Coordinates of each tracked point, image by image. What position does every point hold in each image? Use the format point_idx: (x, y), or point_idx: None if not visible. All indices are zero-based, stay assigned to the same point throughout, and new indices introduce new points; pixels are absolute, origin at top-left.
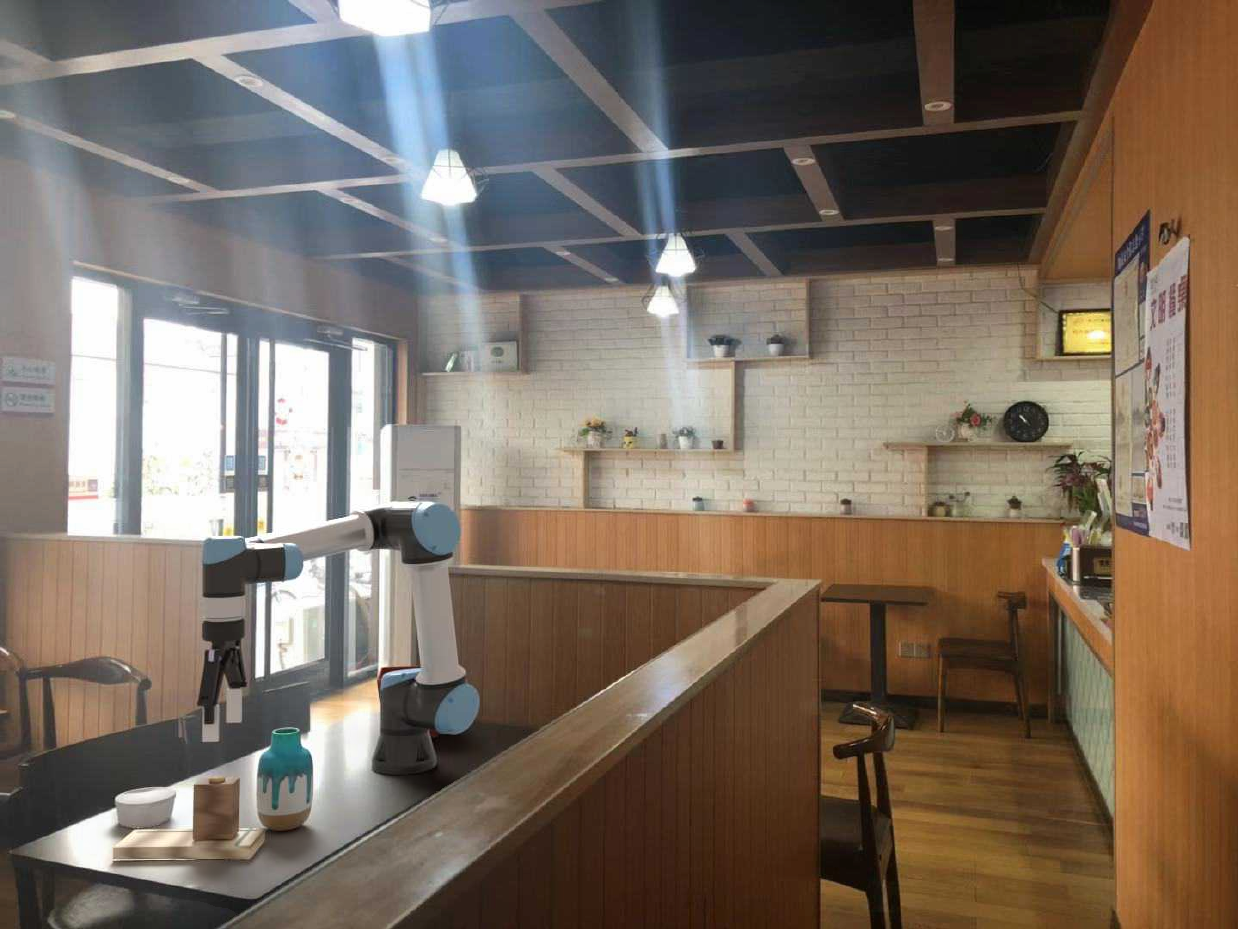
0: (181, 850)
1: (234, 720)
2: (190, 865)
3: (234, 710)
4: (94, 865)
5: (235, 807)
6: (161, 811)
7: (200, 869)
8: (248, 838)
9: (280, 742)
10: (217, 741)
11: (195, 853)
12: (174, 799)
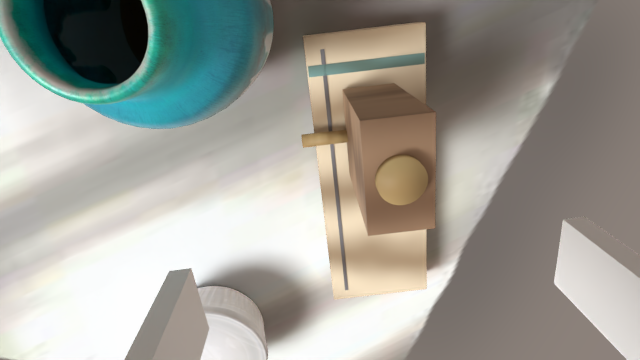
0: None
1: (195, 304)
2: (442, 136)
3: (179, 349)
4: (433, 290)
5: (384, 98)
6: (233, 302)
7: (464, 107)
8: (378, 47)
9: (179, 23)
10: (585, 218)
11: None
12: None
